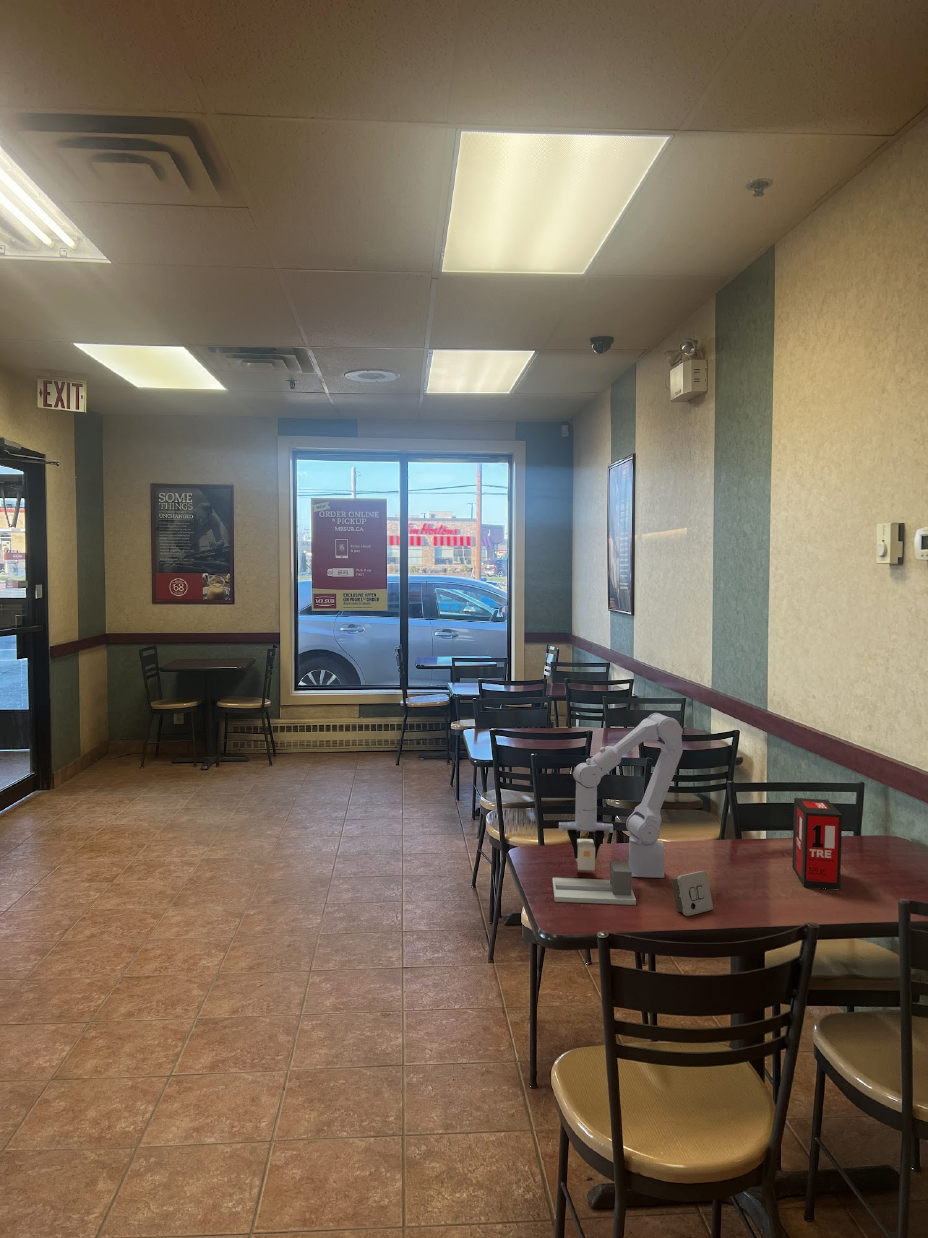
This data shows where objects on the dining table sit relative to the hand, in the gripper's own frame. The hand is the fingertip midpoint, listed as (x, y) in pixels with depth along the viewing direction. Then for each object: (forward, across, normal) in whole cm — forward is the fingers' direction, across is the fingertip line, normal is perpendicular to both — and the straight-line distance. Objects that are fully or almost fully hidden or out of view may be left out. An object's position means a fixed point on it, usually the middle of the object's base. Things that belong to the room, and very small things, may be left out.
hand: (585, 857), depth 224 cm
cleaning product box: (+6, -63, -5) cm, 63 cm away
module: (+2, 0, 0) cm, 2 cm away
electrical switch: (+5, -24, +22) cm, 33 cm away
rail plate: (+5, -1, +13) cm, 14 cm away
